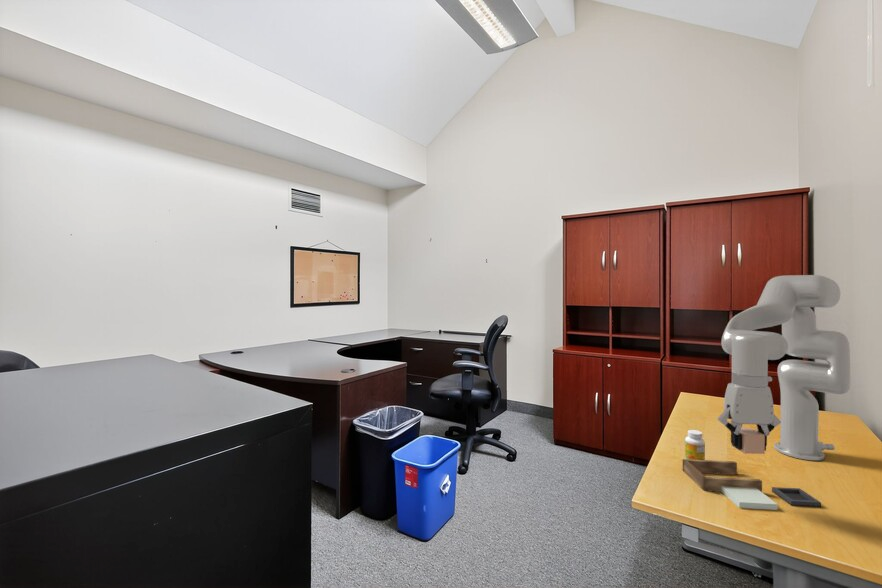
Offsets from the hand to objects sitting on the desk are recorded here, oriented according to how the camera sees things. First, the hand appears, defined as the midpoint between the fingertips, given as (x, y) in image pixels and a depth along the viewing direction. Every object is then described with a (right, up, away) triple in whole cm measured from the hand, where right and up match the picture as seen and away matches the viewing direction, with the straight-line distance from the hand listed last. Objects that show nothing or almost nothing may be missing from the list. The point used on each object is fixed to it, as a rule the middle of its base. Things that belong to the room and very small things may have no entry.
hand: (748, 447), depth 104 cm
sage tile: (0, -14, 0) cm, 14 cm away
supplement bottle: (+1, -14, +23) cm, 27 cm away
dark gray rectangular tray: (+13, -14, +1) cm, 19 cm away
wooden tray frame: (0, -14, +10) cm, 18 cm away
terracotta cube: (0, -1, 0) cm, 1 cm away
